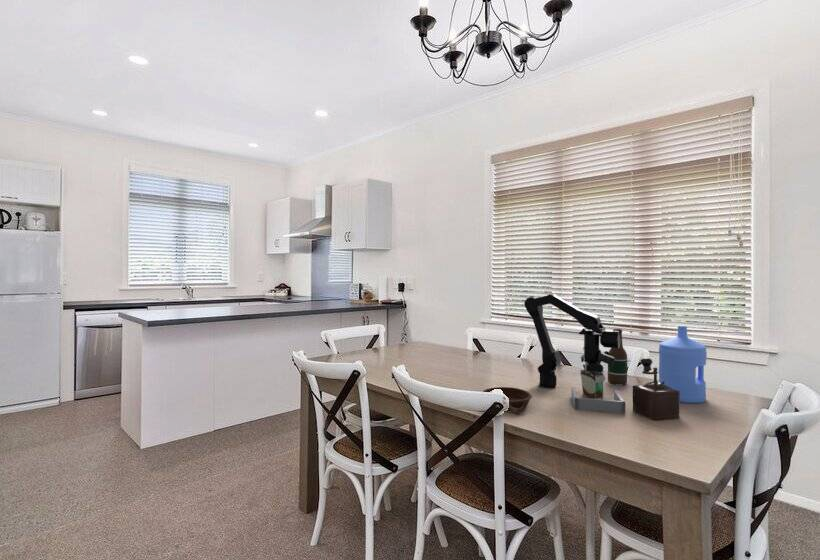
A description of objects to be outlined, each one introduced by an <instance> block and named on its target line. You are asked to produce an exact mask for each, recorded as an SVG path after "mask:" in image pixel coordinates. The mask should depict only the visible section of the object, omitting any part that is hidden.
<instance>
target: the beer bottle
mask: <svg viewBox="0 0 820 560" xmlns="http://www.w3.org/2000/svg"><path fill="white" fill-rule="evenodd" d="M612 331H619V335H620V339H621V341H620V348H619V349H617V348H609V349H608V352H610V356H613V357H614V358H615V360H614V363H613V365H612V366H611V365H609V364H607V382H608V383H609V382H610V383H609V384H611V383H612V384H611V385H616V384H618V385H617V386H625V385H627V384H628V353H627V351H626V350H625V347H624V346H623V334H622V333H623V329H622V328H614V329H613V330H612ZM626 383H627V384H626Z"/></svg>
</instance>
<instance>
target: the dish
mask: <svg viewBox="0 0 820 560" xmlns="http://www.w3.org/2000/svg"><path fill="white" fill-rule="evenodd" d="M494 389H501V390H502V391H503V393H504V394H505V395H506V396H507V397H508V398H509V408H508V410H507V411H511V412H512V413H514V414H521V413H523V410H525V409H526V408H527V407H528V405H529V403H530V401H531V399H532V398H533V397H532V396H533V395H532V394H531V393H530V392H529V391H527V390H525V389H521V388H517V387H508V386H497V387H491V388H486V389H484V390H483V391H482V393H483V392H490V391H492V390H494ZM507 411H506V412H507ZM511 412H510V413H511Z"/></svg>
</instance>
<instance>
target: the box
mask: <svg viewBox="0 0 820 560" xmlns="http://www.w3.org/2000/svg"><path fill="white" fill-rule="evenodd" d="M571 399H572V400H571V401H572V402H573V407H574V410H578V409H581V411H592V412H601V411H602V413H603V412H605V413H613V412H615V414H624V413H625V414H626V401H625V399H624V398H623V396H622V395H621V394H620V392H619V390H617V389H614V390H613V399H604V398H603V399H591V398H587V397H579V396H578V392H577V390H576V387H575V386H571Z"/></svg>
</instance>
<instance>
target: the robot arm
mask: <svg viewBox="0 0 820 560" xmlns="http://www.w3.org/2000/svg"><path fill="white" fill-rule="evenodd" d="M523 304H524V308H525V310H526V311H527V313H528V314H529V316H530V317H531V319H532V322H533V325H534V327H535V331H536V334H537V337H538V340H539V341H538V342H539V343H540V344H539V345H540V347H541V351H542V353H541V359H542V363H541V365H539V366H538V367H537V371H538V373H539V383H538V385H539V387H540V388H550V389H551V388H552V389H556V386H557V374H556V370H557V368H559V367H560V365H561V363H562V357H561V353H560V350H559V349H557V350H556V349H555V348H554V347H553V344H552V340H551V337H550V334H549V331H548V328H547V324H546V322H545V318H544V316H543V313H544V305H545V306H546V305H549V304H551V305H552V306H554V307H555V308H557V309H559V310H560V311H562V312H564V313H565V314H567V315H569V316H571V317H572V318H574V319H575V320H576V321H577V322H578V323H579V324H580V325H581V326H582V327H583V328H582V329H581V331H579V332H578V335H583V348H582V349H583V354H582V355H581V356H580V362H581V363H584V364H582V367H583V370H586V371H593V372H602V373H604V366H603V365H602V363H605V364H607V365H608V364H609V365H611V366H612V365H613V363H614V360H615V358H614V357H613V356H610V352H609V350H608V351H607V350H605V351H603V352H602V351H601V349H600V345H601V346H602V347H603V348H608V349H611V348H617V349H619V348H620V341H621V339H620V335H619V331H613V330H607V329H606V328H605V327H604V325H603V324H602V323H601V322H602V321H601V318H600V317H599V316H598V315H596V314H593V313H591V312H588V311H585V310H583V309H580V308H578V307H577V306H575V305H574V304H571V303H569V302H568V301H566V300H564V299H563V298H561V297H559V296H558V295H557V294H555V293H550V294H547V295H544V296H540V297H539V296H531V297H530V296H529V297H526V299H525V301H524V303H523Z"/></svg>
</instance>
